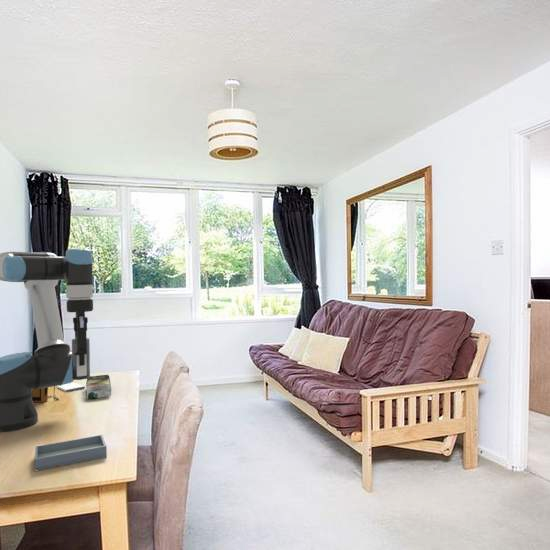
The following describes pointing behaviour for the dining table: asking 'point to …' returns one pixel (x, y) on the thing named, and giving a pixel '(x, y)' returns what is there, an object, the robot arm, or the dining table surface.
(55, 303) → the robot arm
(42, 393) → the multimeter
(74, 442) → the trough
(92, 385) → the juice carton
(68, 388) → the external hard drive
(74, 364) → the cell
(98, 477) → the dining table surface
